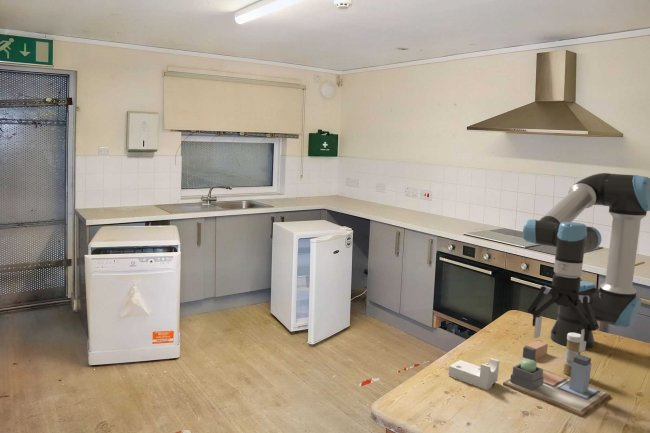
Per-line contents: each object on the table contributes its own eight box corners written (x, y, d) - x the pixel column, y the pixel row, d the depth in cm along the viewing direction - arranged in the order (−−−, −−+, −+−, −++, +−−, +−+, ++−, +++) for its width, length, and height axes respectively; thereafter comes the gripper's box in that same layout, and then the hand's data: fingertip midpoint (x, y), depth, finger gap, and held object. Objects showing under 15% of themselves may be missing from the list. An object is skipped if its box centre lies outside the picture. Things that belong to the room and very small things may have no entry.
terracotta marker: (535, 350, 197) (521, 357, 190) (537, 340, 196) (523, 346, 190) (546, 354, 194) (532, 361, 187) (547, 343, 193) (533, 349, 187)
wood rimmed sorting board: (534, 368, 180) (534, 364, 180) (610, 396, 163) (610, 392, 163) (502, 384, 167) (503, 380, 167) (581, 416, 150) (582, 412, 149)
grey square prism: (574, 384, 166) (578, 353, 165) (588, 389, 164) (592, 358, 162) (569, 388, 164) (572, 357, 162) (582, 393, 161) (586, 361, 159)
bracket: (497, 383, 169) (499, 360, 167) (486, 390, 163) (489, 367, 162) (459, 370, 177) (461, 348, 176) (448, 376, 172) (450, 353, 171)
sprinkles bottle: (581, 375, 177) (585, 335, 175) (572, 377, 175) (577, 338, 173) (568, 369, 181) (572, 331, 179) (559, 372, 178) (564, 333, 176)
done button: (524, 366, 169) (525, 357, 169) (538, 371, 166) (539, 362, 165) (517, 370, 166) (518, 361, 166) (531, 375, 163) (532, 366, 162)
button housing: (521, 376, 172) (523, 361, 171) (542, 384, 166) (544, 369, 166) (510, 382, 167) (511, 366, 166) (531, 390, 162) (533, 375, 161)
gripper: (520, 267, 166) (513, 334, 169) (607, 286, 148) (597, 360, 151) (532, 264, 171) (525, 329, 174) (616, 282, 153) (607, 354, 156)
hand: (558, 344), depth 163 cm, fingers open, 13 cm apart
